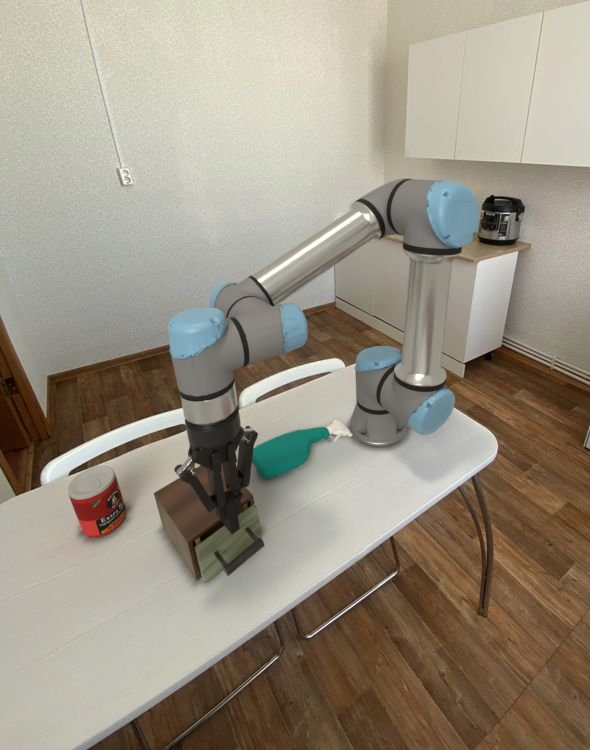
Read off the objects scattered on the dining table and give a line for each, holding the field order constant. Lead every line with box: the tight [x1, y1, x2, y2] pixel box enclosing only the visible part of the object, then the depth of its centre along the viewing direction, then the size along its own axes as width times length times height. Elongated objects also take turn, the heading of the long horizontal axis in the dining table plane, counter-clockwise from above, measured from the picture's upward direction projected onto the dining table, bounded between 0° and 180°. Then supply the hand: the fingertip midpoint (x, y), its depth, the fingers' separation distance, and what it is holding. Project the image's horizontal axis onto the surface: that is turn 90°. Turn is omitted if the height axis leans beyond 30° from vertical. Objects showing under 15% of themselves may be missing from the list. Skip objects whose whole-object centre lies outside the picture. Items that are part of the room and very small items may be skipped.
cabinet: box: [153, 464, 255, 581], centre depth 74 cm, size 15×13×10 cm
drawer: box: [193, 503, 265, 584], centre depth 71 cm, size 18×11×8 cm, turn 47°
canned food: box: [67, 465, 127, 539], centre depth 76 cm, size 8×8×11 cm
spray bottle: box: [252, 418, 353, 480], centre depth 96 cm, size 3×11×24 cm
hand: (231, 526), depth 65 cm, fingers closed
